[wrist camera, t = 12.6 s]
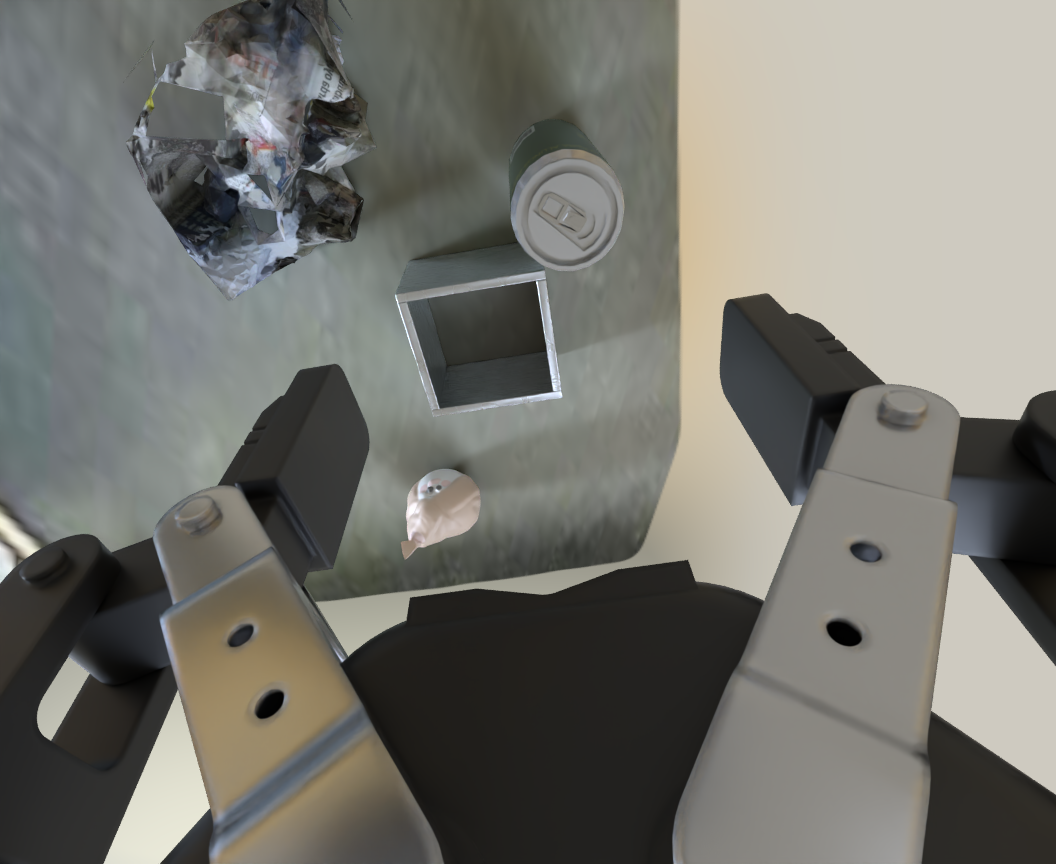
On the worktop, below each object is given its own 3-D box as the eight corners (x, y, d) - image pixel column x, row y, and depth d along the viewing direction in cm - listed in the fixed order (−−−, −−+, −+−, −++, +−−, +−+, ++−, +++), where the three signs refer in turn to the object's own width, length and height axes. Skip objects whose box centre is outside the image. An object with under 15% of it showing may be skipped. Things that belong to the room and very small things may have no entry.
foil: (55, 116, 29) (158, -17, 20) (222, 67, 35) (359, -50, 26) (205, 309, 35) (337, 278, 26) (324, 238, 41) (464, 192, 32)
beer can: (493, 184, 35) (490, 242, 25) (535, 98, 32) (548, 126, 22) (565, 225, 36) (587, 295, 27) (609, 147, 34) (652, 193, 24)
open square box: (408, 260, 37) (394, 294, 33) (539, 238, 37) (544, 269, 32) (441, 373, 43) (433, 417, 38) (555, 356, 42) (562, 397, 37)
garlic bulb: (414, 450, 47) (400, 516, 41) (486, 460, 48) (483, 526, 42) (408, 504, 51) (395, 572, 45) (475, 512, 52) (471, 579, 46)
